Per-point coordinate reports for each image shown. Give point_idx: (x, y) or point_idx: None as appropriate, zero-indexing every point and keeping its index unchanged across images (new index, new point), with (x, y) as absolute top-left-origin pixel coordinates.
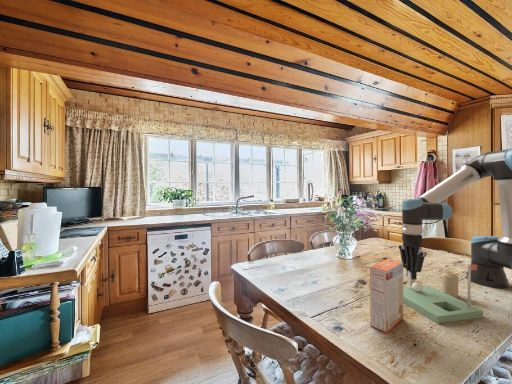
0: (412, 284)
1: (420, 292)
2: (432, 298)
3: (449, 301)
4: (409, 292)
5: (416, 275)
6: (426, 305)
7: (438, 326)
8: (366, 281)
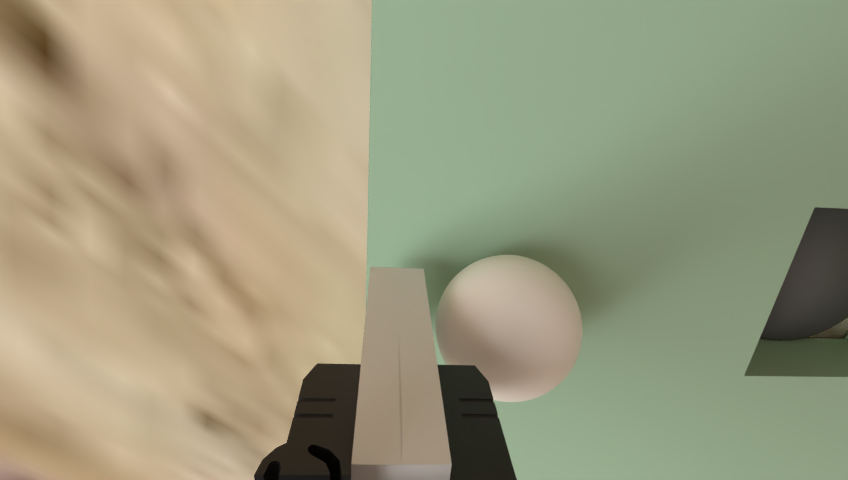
0: None
1: None
2: (693, 286)
3: (844, 166)
4: None
5: (502, 432)
6: (740, 454)
7: None
8: (5, 472)
